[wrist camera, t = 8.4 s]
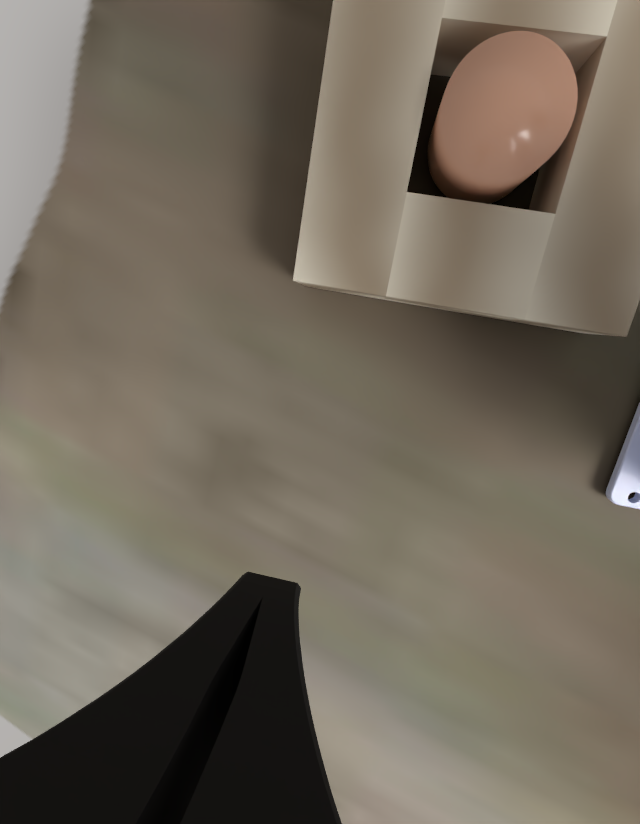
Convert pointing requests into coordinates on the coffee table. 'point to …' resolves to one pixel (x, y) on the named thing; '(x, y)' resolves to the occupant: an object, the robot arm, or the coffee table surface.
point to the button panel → (465, 220)
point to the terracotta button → (501, 116)
